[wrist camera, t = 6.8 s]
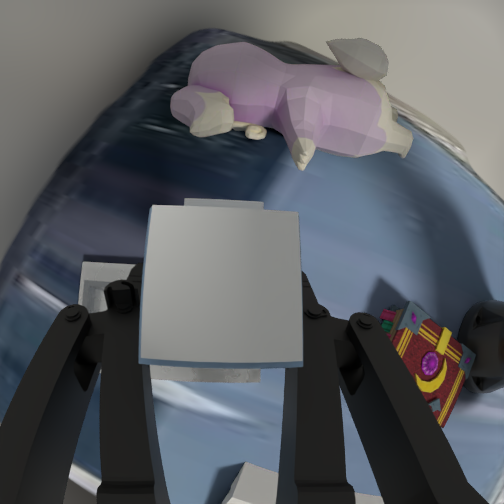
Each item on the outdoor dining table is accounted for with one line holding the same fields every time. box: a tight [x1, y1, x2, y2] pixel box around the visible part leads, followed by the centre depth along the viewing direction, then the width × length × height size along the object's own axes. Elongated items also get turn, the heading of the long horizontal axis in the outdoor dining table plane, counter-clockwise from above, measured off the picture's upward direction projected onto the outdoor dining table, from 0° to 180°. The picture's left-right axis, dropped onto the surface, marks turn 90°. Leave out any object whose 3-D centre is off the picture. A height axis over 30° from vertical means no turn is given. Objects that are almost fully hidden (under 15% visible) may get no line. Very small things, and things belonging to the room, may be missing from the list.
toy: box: [170, 38, 413, 171], centre depth 33 cm, size 29×17×30 cm
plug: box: [139, 198, 303, 369], centre depth 13 cm, size 4×5×13 cm
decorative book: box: [380, 301, 476, 428], centre depth 31 cm, size 11×16×5 cm
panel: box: [78, 262, 260, 383], centre depth 29 cm, size 20×12×3 cm, turn 90°
